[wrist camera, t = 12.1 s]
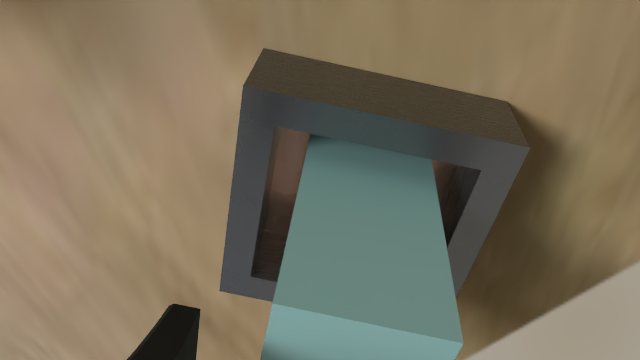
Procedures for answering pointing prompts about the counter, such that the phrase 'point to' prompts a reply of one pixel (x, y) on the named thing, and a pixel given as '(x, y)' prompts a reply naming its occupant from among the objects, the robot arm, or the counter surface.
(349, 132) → the socket
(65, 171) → the counter surface
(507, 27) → the counter surface
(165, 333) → the robot arm
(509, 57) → the counter surface
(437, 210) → the peg
